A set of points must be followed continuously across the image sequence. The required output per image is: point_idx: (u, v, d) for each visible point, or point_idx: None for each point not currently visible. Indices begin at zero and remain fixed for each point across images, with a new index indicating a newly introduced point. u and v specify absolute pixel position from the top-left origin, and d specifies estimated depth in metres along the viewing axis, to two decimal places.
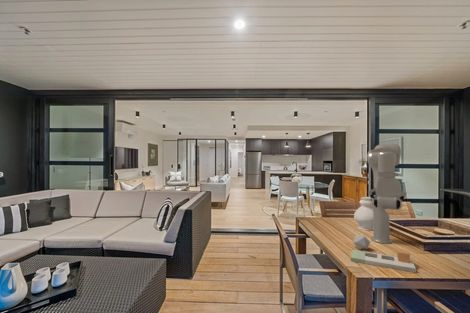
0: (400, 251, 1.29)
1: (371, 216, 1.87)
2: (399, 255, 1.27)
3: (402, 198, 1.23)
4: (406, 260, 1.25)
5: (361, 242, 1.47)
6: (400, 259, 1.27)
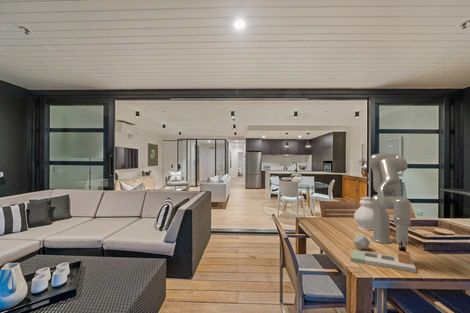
0: (400, 252, 1.27)
1: (371, 216, 1.87)
2: (400, 256, 1.26)
3: None
4: (407, 261, 1.24)
5: (361, 242, 1.47)
6: (400, 260, 1.25)
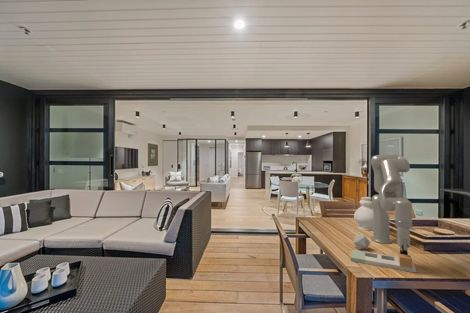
0: (402, 255, 1.23)
1: (371, 216, 1.87)
2: (401, 259, 1.21)
3: None
4: (408, 265, 1.20)
5: (361, 242, 1.47)
6: (402, 264, 1.21)
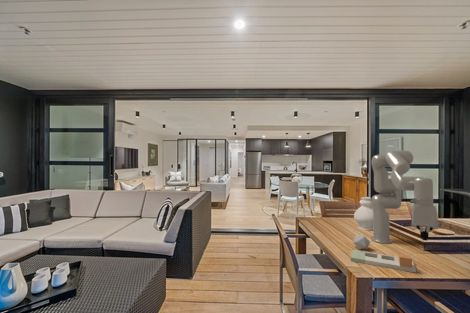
0: (402, 255, 1.23)
1: (371, 216, 1.87)
2: (401, 259, 1.21)
3: (417, 227, 1.21)
4: (408, 265, 1.20)
5: (361, 242, 1.47)
6: (402, 264, 1.21)
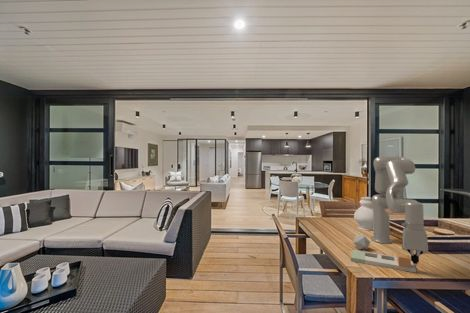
0: (400, 255, 1.23)
1: (371, 216, 1.87)
2: (400, 259, 1.21)
3: (408, 250, 1.23)
4: (407, 265, 1.20)
5: (361, 242, 1.47)
6: (401, 264, 1.21)
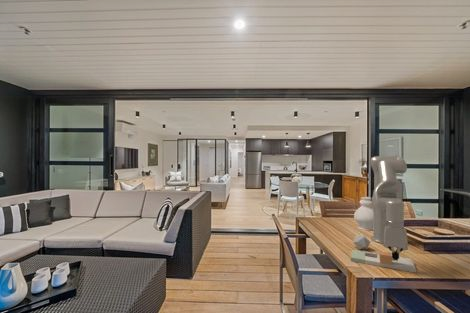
0: (382, 253, 1.26)
1: (371, 216, 1.87)
2: (381, 257, 1.24)
3: None
4: (388, 262, 1.23)
5: (361, 242, 1.47)
6: (382, 261, 1.24)
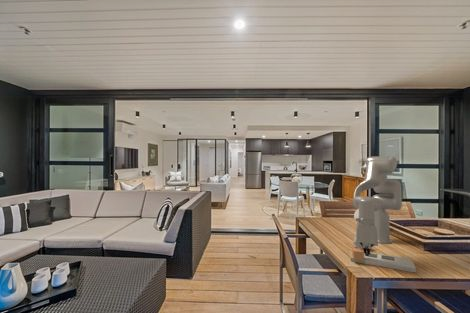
0: (355, 249, 1.31)
1: None
2: (355, 253, 1.29)
3: None
4: (361, 258, 1.28)
5: None
6: (355, 257, 1.29)
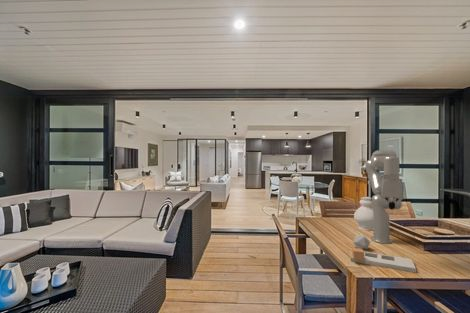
0: (355, 249, 1.31)
1: (371, 216, 1.87)
2: (355, 253, 1.29)
3: None
4: (361, 258, 1.28)
5: (361, 242, 1.47)
6: (355, 257, 1.29)
